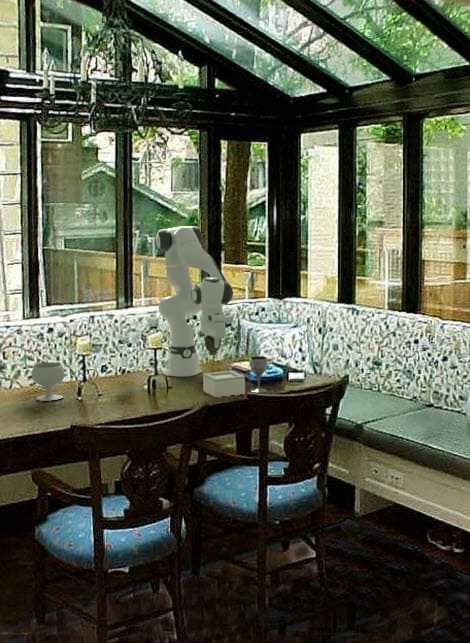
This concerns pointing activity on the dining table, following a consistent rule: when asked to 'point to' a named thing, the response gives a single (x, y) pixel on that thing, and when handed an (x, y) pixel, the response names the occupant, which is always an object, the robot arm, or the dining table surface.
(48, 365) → the chalice
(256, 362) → the wine glass
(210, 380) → the open grey box
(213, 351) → the cup
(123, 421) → the dining table surface
